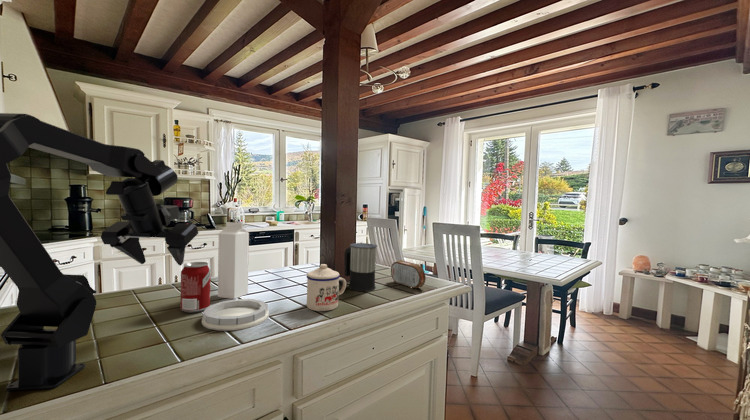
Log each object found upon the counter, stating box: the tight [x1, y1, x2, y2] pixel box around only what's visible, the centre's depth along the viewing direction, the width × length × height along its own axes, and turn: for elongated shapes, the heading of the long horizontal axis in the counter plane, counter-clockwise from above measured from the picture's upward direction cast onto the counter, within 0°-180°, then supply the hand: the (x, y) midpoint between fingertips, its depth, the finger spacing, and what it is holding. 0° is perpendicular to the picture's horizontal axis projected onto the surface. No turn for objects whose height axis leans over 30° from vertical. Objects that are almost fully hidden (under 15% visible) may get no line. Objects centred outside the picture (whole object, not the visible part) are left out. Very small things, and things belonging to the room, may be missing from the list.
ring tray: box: [201, 298, 270, 332], centre depth 77 cm, size 15×15×2 cm
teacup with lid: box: [306, 263, 347, 312], centre depth 88 cm, size 12×9×12 cm
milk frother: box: [338, 242, 378, 292], centre depth 105 cm, size 14×16×15 cm
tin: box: [390, 259, 426, 289], centre depth 112 cm, size 15×3×8 cm, turn 40°
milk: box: [217, 221, 250, 300], centre depth 95 cm, size 6×6×22 cm
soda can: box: [179, 261, 212, 314], centre depth 82 cm, size 7×7×12 cm
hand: (162, 263), depth 75 cm, fingers open, 9 cm apart
